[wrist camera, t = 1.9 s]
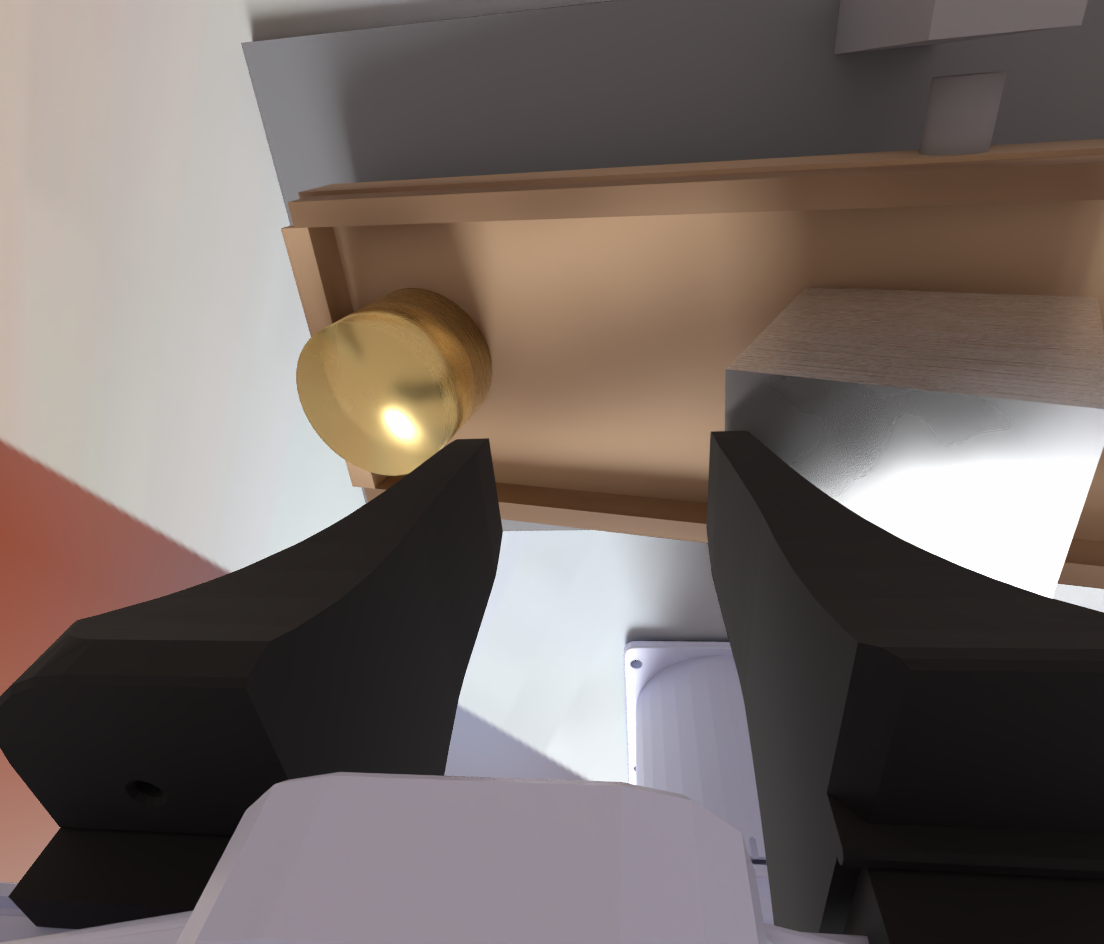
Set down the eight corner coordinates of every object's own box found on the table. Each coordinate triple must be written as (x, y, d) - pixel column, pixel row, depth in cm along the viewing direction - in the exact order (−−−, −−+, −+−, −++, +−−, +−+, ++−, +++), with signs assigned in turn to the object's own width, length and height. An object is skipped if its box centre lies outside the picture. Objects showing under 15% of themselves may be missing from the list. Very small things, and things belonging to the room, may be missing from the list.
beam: (1630, 632, 14) (1769, 727, 12) (404, 497, 23) (367, 538, 21) (2313, -45, 8) (2804, -82, 6) (319, 131, 17) (256, 139, 15)
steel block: (1028, 528, 14) (1020, 690, 11) (791, 482, 17) (721, 602, 13) (1096, 297, 12) (1115, 410, 8) (806, 287, 14) (725, 369, 11)
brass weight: (500, 428, 19) (456, 482, 16) (378, 419, 20) (320, 468, 17) (482, 287, 17) (428, 325, 14) (347, 287, 18) (276, 322, 15)
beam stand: (1326, 510, 22) (1567, 656, 16) (378, 523, 26) (311, 643, 20) (1715, -122, 14) (2458, -264, 8) (252, 44, 18) (83, 25, 12)
